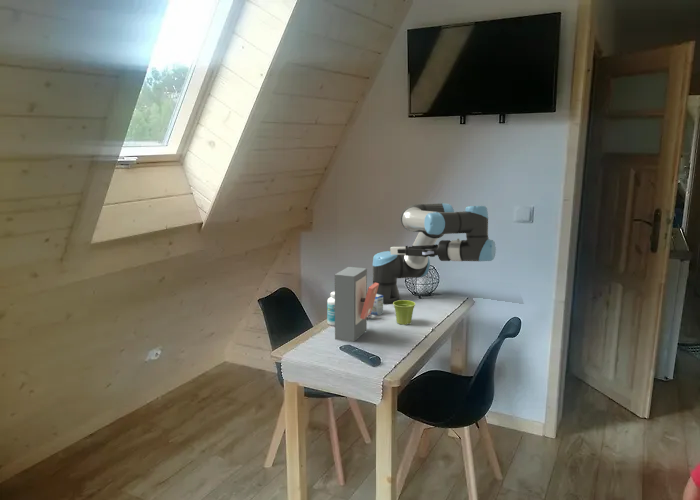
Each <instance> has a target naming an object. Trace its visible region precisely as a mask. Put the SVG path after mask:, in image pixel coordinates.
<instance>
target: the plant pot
mask: <svg viewBox="0 0 700 500" xmlns="http://www.w3.org/2000/svg"><path fill="white" fill-rule="evenodd" d="M392 305H393V308H394V312H395V319H396V323H397V324H398V325H402V326H403V325H404V326H407V325H410V324H412V318H413V312H414V308H415V307H416V302H415V301H412V300H407V299H405V300H404V299H400V300H398V301H395V302H393V303H392Z"/></svg>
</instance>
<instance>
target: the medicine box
mask: <svg viewBox="0 0 700 500" xmlns="http://www.w3.org/2000/svg"><path fill="white" fill-rule="evenodd" d="M382 314H384V304H383V295H380V294H376V297H375V301H374V304H373V308H372V311H371V314H370V315H374V316H380V315H382Z"/></svg>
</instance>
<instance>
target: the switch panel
mask: <svg viewBox="0 0 700 500" xmlns="http://www.w3.org/2000/svg"><path fill="white" fill-rule="evenodd" d="M367 281H368V269H367V268H366V267H365V268H364V267H354V266H347V267H345V268H344V269H342V270H340V271H338V272H337V273H335V274H334V292H335V326H334V339H335V340H337V341H345V342H352V343H354V342H356V341H357V340H358V339H359V338H360V337H361V336H363V334H364V333H365V332H367V329H368V325H367V323H368V321H367V320H368V317H366V318H365V319H362V318H360V317H361V313H362V309H363V306H364V302H365V298H366V295H367V291H368V284H367V283H368V282H367Z"/></svg>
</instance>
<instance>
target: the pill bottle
mask: <svg viewBox="0 0 700 500" xmlns="http://www.w3.org/2000/svg"><path fill="white" fill-rule="evenodd" d="M326 303H327V304H326V309H327V313H326V314H327V315H326V316H327V317H326V319H327V320H326V321H327V324H328V325H330V326H332V327H335V291H332V292H330V297H329V298H327V302H326Z"/></svg>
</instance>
